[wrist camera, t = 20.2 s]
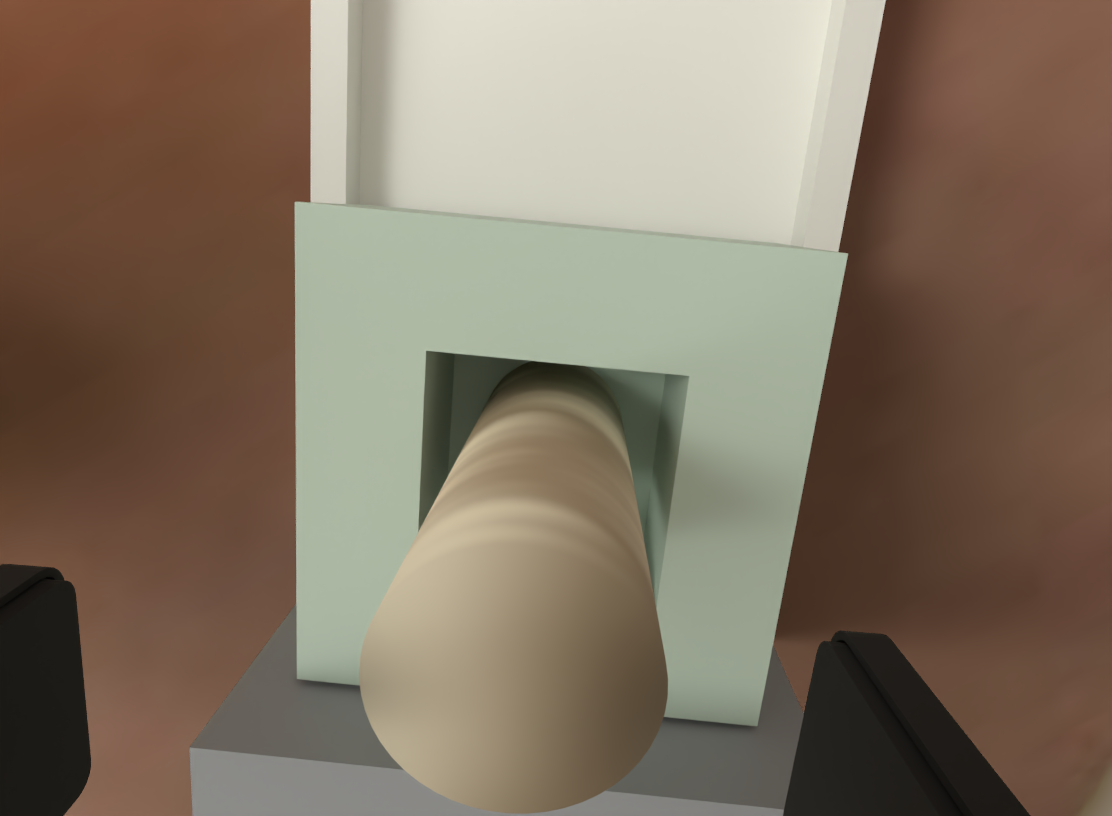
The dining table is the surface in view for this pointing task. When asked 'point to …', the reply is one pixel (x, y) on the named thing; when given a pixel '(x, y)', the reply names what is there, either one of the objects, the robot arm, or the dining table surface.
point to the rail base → (574, 198)
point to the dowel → (524, 610)
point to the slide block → (566, 338)
